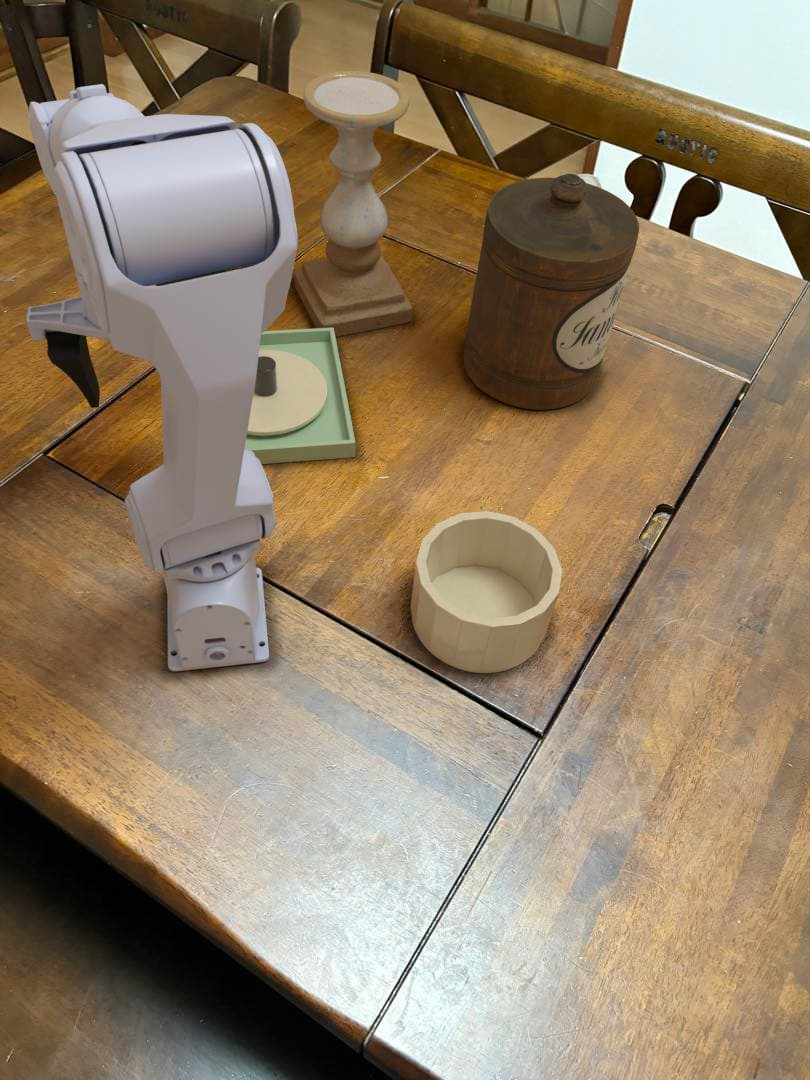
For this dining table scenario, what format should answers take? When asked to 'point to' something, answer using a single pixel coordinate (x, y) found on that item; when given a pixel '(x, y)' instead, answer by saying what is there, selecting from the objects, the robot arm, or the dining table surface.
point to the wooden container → (547, 290)
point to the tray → (333, 424)
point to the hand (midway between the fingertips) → (141, 397)
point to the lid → (285, 393)
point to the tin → (484, 591)
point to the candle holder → (354, 209)
